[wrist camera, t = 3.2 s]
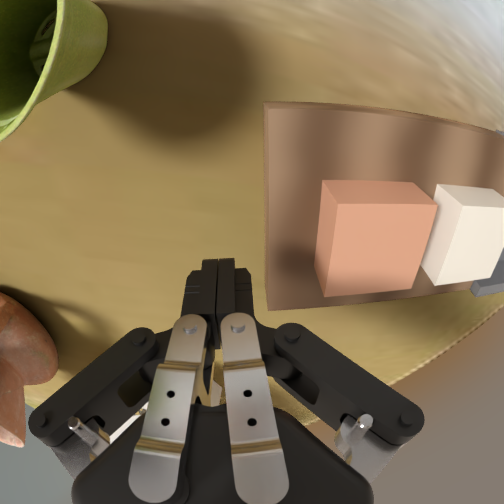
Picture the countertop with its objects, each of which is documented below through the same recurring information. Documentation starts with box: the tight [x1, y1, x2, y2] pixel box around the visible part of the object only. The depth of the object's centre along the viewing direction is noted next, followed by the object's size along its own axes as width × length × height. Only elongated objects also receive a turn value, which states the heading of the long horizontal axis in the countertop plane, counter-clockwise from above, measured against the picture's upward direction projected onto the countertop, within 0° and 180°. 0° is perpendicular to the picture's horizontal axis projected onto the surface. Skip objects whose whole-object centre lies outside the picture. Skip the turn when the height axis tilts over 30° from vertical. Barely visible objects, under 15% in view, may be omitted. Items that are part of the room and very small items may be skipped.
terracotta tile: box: [314, 180, 438, 297], centre depth 17 cm, size 6×6×3 cm
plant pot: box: [0, 0, 108, 142], centre depth 9 cm, size 9×9×9 cm
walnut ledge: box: [263, 102, 504, 311], centre depth 19 cm, size 19×14×3 cm
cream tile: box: [420, 184, 504, 286], centre depth 17 cm, size 6×6×3 cm
